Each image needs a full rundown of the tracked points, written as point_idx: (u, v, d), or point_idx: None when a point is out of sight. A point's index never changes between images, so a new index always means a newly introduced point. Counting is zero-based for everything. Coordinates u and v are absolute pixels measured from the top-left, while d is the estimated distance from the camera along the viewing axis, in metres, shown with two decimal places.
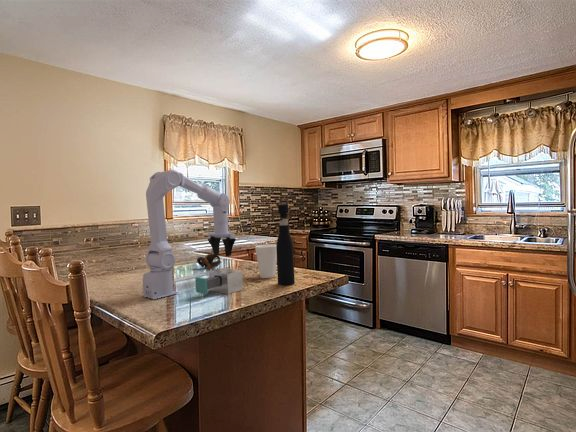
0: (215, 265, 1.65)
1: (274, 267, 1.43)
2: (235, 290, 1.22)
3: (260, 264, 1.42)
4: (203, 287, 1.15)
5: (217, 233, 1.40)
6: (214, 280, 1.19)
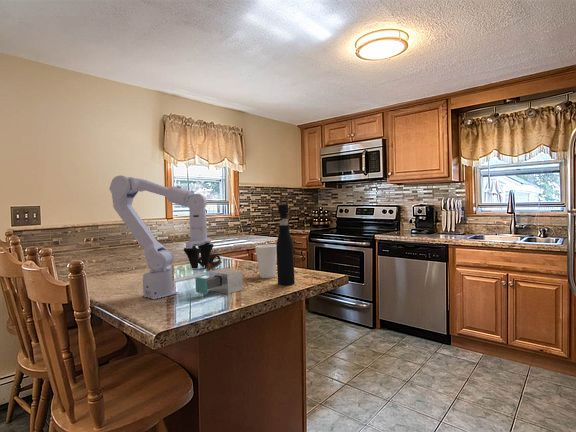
0: (215, 265, 1.65)
1: (274, 267, 1.43)
2: (235, 290, 1.22)
3: (260, 264, 1.42)
4: (203, 287, 1.15)
5: None
6: (214, 280, 1.19)
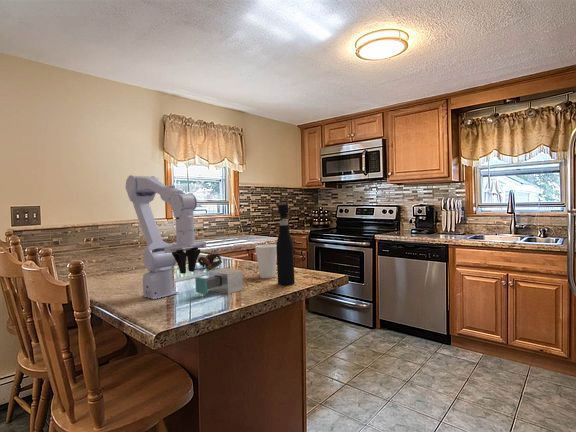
0: (216, 265, 1.65)
1: (274, 267, 1.43)
2: (235, 290, 1.22)
3: (260, 264, 1.42)
4: (203, 287, 1.15)
5: None
6: (214, 280, 1.19)
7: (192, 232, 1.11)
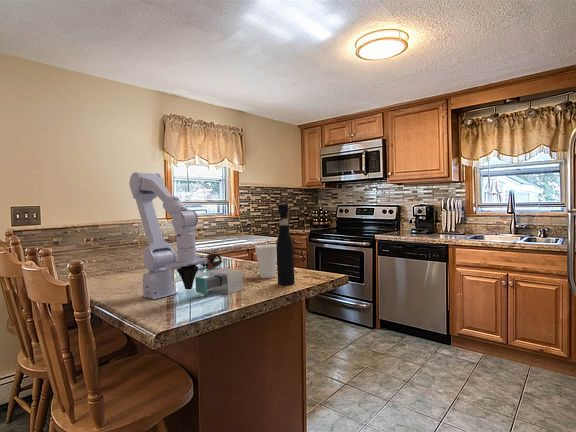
0: (216, 265, 1.66)
1: (274, 267, 1.43)
2: (235, 290, 1.22)
3: (260, 264, 1.42)
4: (203, 287, 1.15)
5: None
6: (214, 280, 1.19)
7: (193, 249, 1.11)
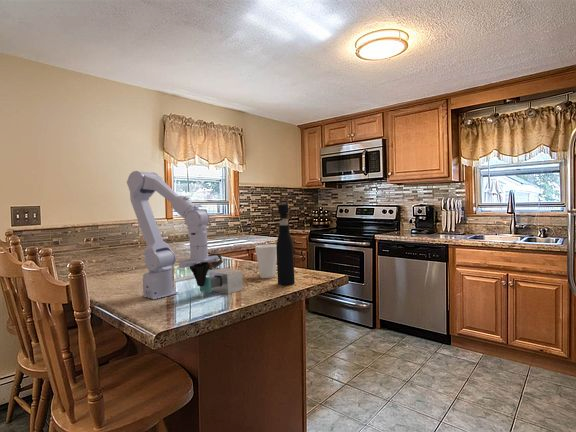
0: (217, 264, 1.66)
1: (274, 267, 1.43)
2: (235, 290, 1.22)
3: (260, 264, 1.42)
4: (207, 286, 1.16)
5: None
6: (218, 280, 1.20)
7: (205, 247, 1.15)
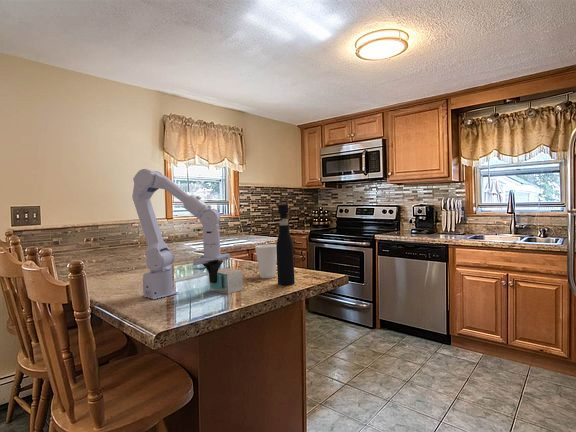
0: None
1: (274, 267, 1.43)
2: (235, 290, 1.22)
3: (260, 264, 1.42)
4: (218, 283, 1.20)
5: None
6: None
7: (218, 245, 1.19)
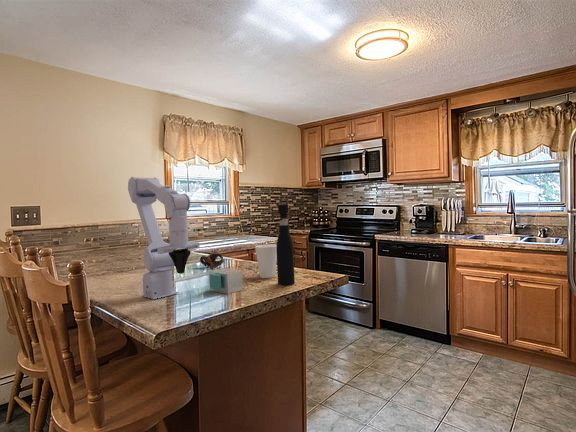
0: (218, 264, 1.67)
1: (274, 267, 1.43)
2: (235, 290, 1.22)
3: (260, 264, 1.42)
4: (217, 283, 1.20)
5: None
6: None
7: (185, 233, 1.10)
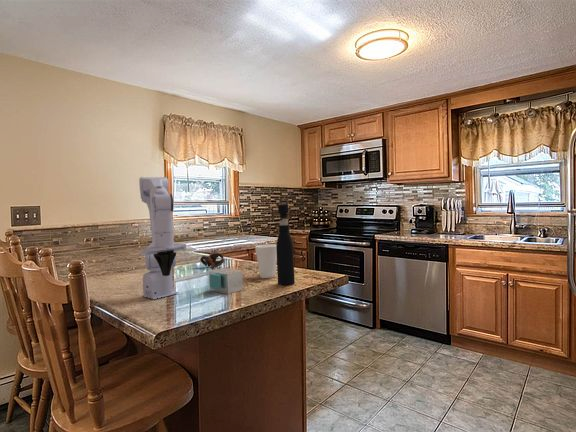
0: (219, 264, 1.68)
1: (274, 267, 1.43)
2: (235, 290, 1.22)
3: (260, 264, 1.42)
4: (217, 283, 1.20)
5: None
6: None
7: (170, 234, 1.07)
